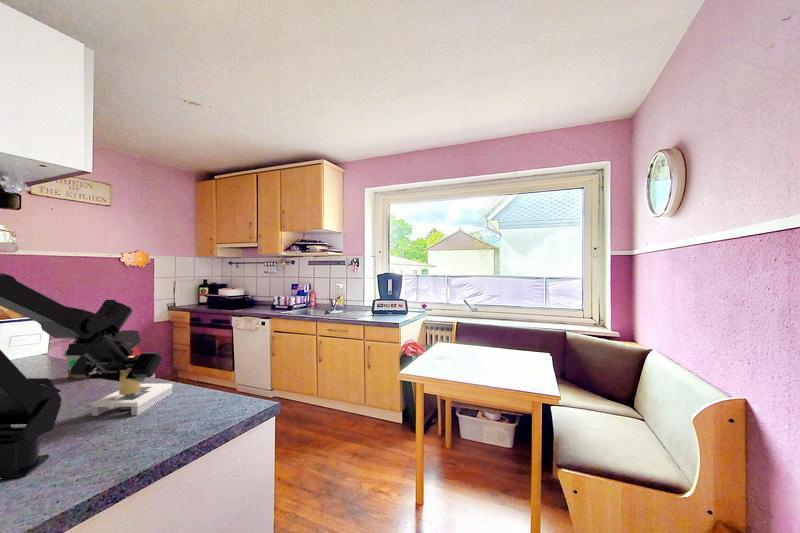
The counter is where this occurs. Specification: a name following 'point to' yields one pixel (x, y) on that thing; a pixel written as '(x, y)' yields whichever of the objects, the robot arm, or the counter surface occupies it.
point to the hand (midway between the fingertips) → (134, 380)
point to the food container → (70, 362)
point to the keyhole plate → (137, 405)
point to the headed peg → (128, 387)
